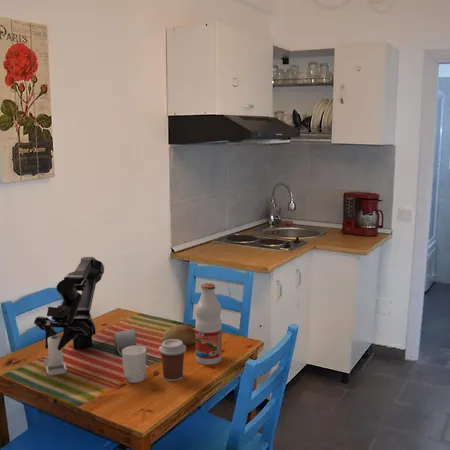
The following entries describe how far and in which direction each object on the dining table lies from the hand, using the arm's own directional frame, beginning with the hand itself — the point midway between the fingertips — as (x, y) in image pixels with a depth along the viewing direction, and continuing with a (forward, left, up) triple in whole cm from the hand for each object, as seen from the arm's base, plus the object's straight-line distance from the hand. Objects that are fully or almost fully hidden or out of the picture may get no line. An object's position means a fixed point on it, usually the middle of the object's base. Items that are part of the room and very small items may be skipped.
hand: (52, 349), depth 180 cm
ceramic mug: (-27, -12, -10) cm, 31 cm away
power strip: (-1, -5, -10) cm, 11 cm away
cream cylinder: (-1, -1, -6) cm, 6 cm away
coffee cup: (-37, +16, -10) cm, 41 cm away
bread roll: (-48, -9, -10) cm, 50 cm away
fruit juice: (-53, +8, -10) cm, 54 cm away
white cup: (-25, +12, -10) cm, 29 cm away
